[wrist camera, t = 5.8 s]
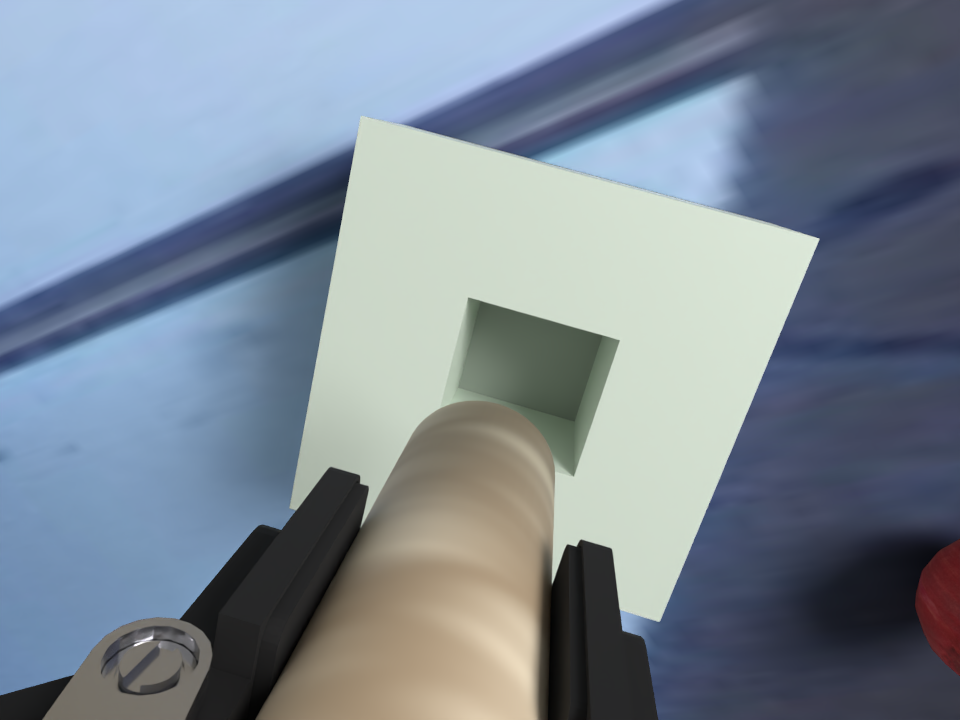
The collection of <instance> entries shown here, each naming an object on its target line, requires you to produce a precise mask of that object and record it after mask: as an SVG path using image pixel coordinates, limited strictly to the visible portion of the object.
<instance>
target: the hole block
mask: <svg viewBox="0 0 960 720" xmlns="http://www.w3.org/2000/svg"><path fill="white" fill-rule="evenodd" d="M818 241H819V239H818V238H815V237H812V236H809V235H806V234H803V233H799V232H796V231H793V230H790V229H787V228H784V227H780V226H777V225H774V224H771V223H768V222H765V221H761V220H757V219H754V218H750V217H746V216H742V215H739V214H735V213H731V212H727V211H724V210H720V209H716V208H712V207H709V206H705V205H701V204H698V203H694V202H690V201H686V200H683V199H679V198H675V197H671V196H668V195H664V194H660V193H657V192H653V191H649V190H645V189H642V188H638V187H634V186H630V185H627V184H623V183H619V182H615V181H612V180H608V179H604V178H601V177H597V176H593V175H589V174H586V173H582V172H578V171H574V170H571V169H567V168H563V167H560V166H556V165H552V164H548V163H545V162H541V161H537V160H533V159H530V158H526V157H522V156H518V155H515V154H511V153H507V152H504V151H500V150H496V149H492V148H489V147H485V146H481V145H477V144H474V143H470V142H466V141H463V140H459V139H455V138H451V137H448V136H444V135H440V134H436V133H433V132H429V131H425V130H421V129H418V128H414V127H410V126H406V125H401V124H397V123H392V122H387V121H383V120H378V119H373V118H369V117H364V116H361V118H360V123H359V129H358V134H357V140H356V145H355V151H354V156H353V162H352V167H351V173H350V178H349V184H348V189H347V195H346V200H345V206H344V211H343V217H342V222H341V228H340V233H339V239H338V244H337V250H336V255H335V261H334V266H333V272H332V277H331V283H330V288H329V294H328V299H327V305H326V310H325V316H324V321H323V327H322V332H321V338H320V343H319V349H318V354H317V359H316V365H315V370H314V376H313V381H312V387H311V392H310V398H309V403H308V409H307V414H306V420H305V425H304V431H303V436H302V442H301V447H300V453H299V458H298V464H297V469H296V475H295V480H294V486H293V491H292V497H291V502H290V509H293V510H297V509H298V508H299V506H300V505H301V504H302V502H303V501H304V500H305V498H306V497H307V496H308V494H309V493H310V492H311V490H312V489H313V488H314V487H315V485H316V484H317V483H318V481H319V480H320V479H321V477H322V476H323V475H324V473H325V472H326V471H327V469H328V468H329V467H334V468H337V469H341V470H344V471H348V472H351V473H355V474H358V475H360V484H363V485H367V486H369V492H368V497H367V501H366V506H365V510H364V515H363V519H362V524H363V523H364V521H365V519H366V517H367V515H368V513H369V512H370V510H371V508H372V506H373V504H374V502H375V501H376V499H377V497H378V495H379V493H380V492H381V490H382V488H383V486H384V484H385V482H386V481H387V479H388V477H389V475H390V473H391V472H392V470H393V468H394V466H395V464H396V462H397V461H398V459H399V457H400V455H401V453H402V452H403V450H404V448H405V446H406V444H407V442H408V441H409V439H410V437H411V435H412V434H413V432H414V431H415V429H416V428H417V426H418V425H419V424H420V423H421V422H422V421H423V420H424V419H425V418H426V417H428V416H429V415H430V414H432V413H433V412H435V411H436V410H438V409H440V408H442V407H445V406H447V405H450V404H453V403H457V402H463V401H488V402H492V403H497V404H500V405H503V406H506V407H508V408H510V409H512V410H514V411H516V412H518V413H519V414H521V415H522V416H524V417H525V418H527V419H528V420H529V421H530V422H531V423H532V424H533V425H534V426H535V427H536V428H537V429H538V430H539V431H540V433H541V434H542V435H543V437H544V438H545V440H546V442H547V444H548V446H549V448H550V450H551V453H552V456H553V461H554V466H555V495H554V530H553V565H552V584H553V581H554V578H555V575H556V572H557V569H558V566H559V564H560V561H561V558H562V555H563V552H564V549H565V547H566V545H567V544H569V545H573V546H576V547H577V544H578V543H579V541H580V540H581V539H582V540H585V541H589V542H592V543H595V544H599V545H602V546H606V547H609V548H611V549H612V551H613V558H614V567H615V575H616V583H617V591H618V600H619V608H620V610H622V611H625V612H629V613H632V614H635V615H638V616H642V617H645V618H648V619H651V620H655V621H658V622H660V620H661V617H662V615H663V613H664V610H665V608H666V605H667V603H668V601H669V598H670V596H671V593H672V591H673V589H674V586H675V584H676V581H677V579H678V577H679V574H680V572H681V569H682V567H683V565H684V562H685V560H686V557H687V555H688V553H689V550H690V548H691V545H692V543H693V541H694V538H695V536H696V533H697V531H698V529H699V526H700V524H701V521H702V519H703V517H704V514H705V512H706V510H707V507H708V505H709V502H710V500H711V498H712V495H713V493H714V490H715V488H716V486H717V483H718V481H719V478H720V476H721V474H722V471H723V469H724V466H725V464H726V462H727V459H728V457H729V454H730V452H731V450H732V447H733V445H734V442H735V440H736V438H737V435H738V433H739V430H740V428H741V426H742V423H743V421H744V418H745V416H746V414H747V411H748V409H749V406H750V404H751V402H752V399H753V397H754V395H755V392H756V390H757V387H758V385H759V383H760V380H761V378H762V375H763V373H764V371H765V368H766V366H767V363H768V361H769V359H770V356H771V354H772V351H773V349H774V347H775V344H776V342H777V339H778V337H779V335H780V332H781V330H782V327H783V325H784V323H785V320H786V318H787V315H788V313H789V311H790V308H791V306H792V303H793V301H794V299H795V296H796V294H797V291H798V289H799V287H800V284H801V282H802V280H803V277H804V275H805V272H806V270H807V268H808V265H809V263H810V260H811V258H812V256H813V253H814V251H815V248H816V246H817V244H818ZM362 524H361V526H362Z"/></svg>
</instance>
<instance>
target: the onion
mask: <svg viewBox="0 0 960 720" xmlns="http://www.w3.org/2000/svg"><path fill="white" fill-rule="evenodd" d="M915 608H916V611H917V614H918V617H919V620H920V623H921V627H922V630H923V632H924V634H925V636H926V638H927V640H928V642H929V644H930V646H931V648H932V650H933V651H934V652H935V653H936V654H937V655H938V656H939V657H940V658H941V659H942V661H943V662H944V663H945V664H946V665H947V666H949V667H950V668H951V669H952V670H953V671H954V672H956V673H957V674H958V675H959V676H960V539H959V540H957V541H955V542H954V543H952V544H950V545H948V546H946V547H945V548H943V549H941V550H940V551H938V552H937V554H936V555H935V556H934V557H933V558H932V559H931V561H930V562H929V563H928V564H927V565H926V567H925V568H924V569H923V570H922V573H921V576H920V580H919V584H918V587H917V591H916V600H915Z"/></svg>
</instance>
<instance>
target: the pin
mask: <svg viewBox="0 0 960 720" xmlns="http://www.w3.org/2000/svg"><path fill="white" fill-rule="evenodd" d="M554 495H555V466H554V461H553V456H552V453H551V450H550V448H549V446H548V444H547V442H546V440H545V438H544V437H543V435H542V434H541V433H540V431H539V430H538V429H537V428H536V427H535V426H534V425H533V424H532V423H531V422H530V421H529V420H528V419H527V418H525V417H524V416H522V415H521V414H519V413H518V412H516V411H514V410H512V409H510V408H508V407H506V406H503V405H500V404H497V403H492V402H488V401H463V402H457V403H453V404H450V405H447V406H445V407H442V408H440V409H438V410H436V411H435V412H433V413H432V414H430V415H429V416H428V417H426V418H425V419H424V420H423V421H422V422H421V423H420V424H419V425H418V426H417V428H416V429H415V431H414V432H413V434H412V435H411V437H410V439H409V441H408V442H407V444H406V446H405V448H404V450H403V452H402V453H401V455H400V457H399V459H398V461H397V462H396V464H395V466H394V468H393V470H392V472H391V473H390V475H389V477H388V479H387V481H386V482H385V484H384V486H383V488H382V490H381V492H380V493H379V495H378V497H377V499H376V501H375V502H374V504H373V506H372V508H371V510H370V512H369V513H368V515H367V517H366V519H365V521H364V523H363V524H362V526H361V528H360V530H359V532H358V534H357V536H356V538H355V539H354V541H353V543H352V545H351V547H350V549H349V550H348V552H347V554H346V556H345V558H344V559H343V561H342V563H341V565H340V567H339V569H338V570H337V572H336V574H335V576H334V578H333V580H332V581H331V583H330V585H329V587H328V589H327V590H326V592H325V594H324V596H323V598H322V600H321V601H320V603H319V605H318V607H317V609H316V610H315V612H314V614H313V616H312V618H311V620H310V621H309V623H308V625H307V627H306V629H305V631H304V632H303V634H302V636H301V638H300V640H299V641H298V643H297V645H296V647H295V649H294V651H293V652H292V654H291V656H290V658H289V660H288V662H287V663H286V665H285V667H284V669H283V671H282V672H281V674H280V676H279V678H278V680H277V682H276V683H275V685H274V687H273V689H272V691H271V693H270V694H269V696H268V698H267V699H266V701H265V703H264V704H263V706H262V708H261V710H260V712H259V714H258V715H257V717H256V719H255V720H548V697H549V663H550V629H551V595H552V565H553V530H554Z"/></svg>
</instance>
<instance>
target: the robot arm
mask: <svg viewBox="0 0 960 720" xmlns="http://www.w3.org/2000/svg"><path fill="white" fill-rule="evenodd" d="M368 492H369V486H367V485H363V484H360V475H358V474H355V473H351V472H348V471H344V470H341V469H337V468H334V467H329V468H328V469H327V471H326V472H325V473H324V475H323V476H322V477H321V479H320V480H319V481H318V483H317V484H316V485H315V487H314V488H313V489H312V490H311V492H310V493H309V494H308V496H307V497H306V498H305V500H304V501H303V502H302V504H301V505H300V506H299V508H298V509H297V510H296V512H295V513H294V514H293V516H292V517H291V518H290V520H289V521H288V522H287V523H286V525H285V526H284V527H283V529H282V530H279V529H276V528H272V527H269V526H266V525H259V526H258V527H257V528H256V529H255V530H254V531H253V532H252V533H251V534H250V535H249V537H248V538H247V539H246V540H245V541H244V543H243V544H242V545H241V546H240V547H239V549H238V550H237V551H236V552H235V553H234V555H233V556H232V557H231V558H230V559H229V561H228V562H227V563H226V564H225V565H224V567H223V568H222V569H221V570H220V572H219V573H218V574H217V575H216V576H215V578H214V579H213V580H212V581H211V582H210V584H209V585H208V586H207V587H206V588H205V590H204V591H203V592H202V593H201V594H200V596H199V597H198V598H197V599H196V600H195V602H194V603H193V604H192V605H191V606H190V608H189V609H188V610H187V611H186V612H185V614H184V615H183V616H182V617H181V618H180V620H178V619H174V618H159V617H157V618H150V619H143V620H138V621H135V622H132V623H129V624H126V625H123V626H121V627H119V628H118V629H116V630H114V631H113V632H111V633H109V634H108V635H106V636H105V637H104V638H103V639H102V640H101V641H100V642H99V643H98V644H97V645H96V646H95V647H94V648H93V649H92V651H91V652H90V654H89V655H88V656H87V658H86V659H85V661H84V662H83V663H82V665H81V666H80V668H79V669H78V670H77V672H76V673H75V675H72V676H69V677H65V678H61V679H58V680H54V681H51V682H47V683H44V684H40V685H36V686H33V687H29V688H26V689H22V690H18V691H15V692H11V693H8V694H4V695H1V696H0V720H255V719H256V717H257V715H258V714H259V712H260V710H261V708H262V706H263V704H264V703H265V701H266V699H267V698H268V696H269V694H270V693H271V691H272V689H273V687H274V685H275V683H276V682H277V680H278V678H279V676H280V674H281V672H282V671H283V669H284V667H285V665H286V663H287V662H288V660H289V658H290V656H291V654H292V652H293V651H294V649H295V647H296V645H297V643H298V641H299V640H300V638H301V636H302V634H303V632H304V631H305V629H306V627H307V625H308V623H309V621H310V620H311V618H312V616H313V614H314V612H315V610H316V609H317V607H318V605H319V603H320V601H321V600H322V598H323V596H324V594H325V592H326V590H327V589H328V587H329V585H330V583H331V581H332V580H333V578H334V576H335V574H336V572H337V570H338V569H339V567H340V565H341V563H342V561H343V559H344V558H345V556H346V554H347V552H348V550H349V549H350V547H351V545H352V543H353V541H354V539H355V538H356V536H357V534H358V532H359V530H360V528H361V524H362V519H363V515H364V510H365V506H366V501H367V497H368ZM548 720H658V716H657V710H656V704H655V698H654V692H653V686H652V680H651V674H650V668H649V662H648V656H647V650H646V645H645V642H644V639H643V638H642V637H641V636H638V635H634V634H631V633H627V632H624V631H622V624H621V616H620V608H619V600H618V591H617V583H616V575H615V567H614V558H613V551H612V549H611V548H609V547H606V546H602V545H599V544H595V543H592V542H589V541H585V540H582V539H581V540H580V541H579V543H578V544H577V547H576V546H573V545H569V544H567V545H566V547H565V549H564V552H563V555H562V558H561V561H560V564H559V566H558V569H557V572H556V575H555V578H554V581H553V584H552V595H551V629H550V663H549V697H548Z"/></svg>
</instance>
